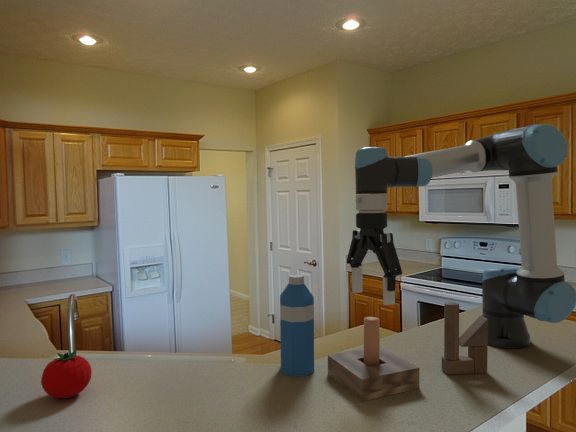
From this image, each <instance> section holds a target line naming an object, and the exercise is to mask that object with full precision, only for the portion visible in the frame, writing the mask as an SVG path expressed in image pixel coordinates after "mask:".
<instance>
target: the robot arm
mask: <svg viewBox="0 0 576 432" xmlns="http://www.w3.org/2000/svg"><path fill="white" fill-rule="evenodd" d="M567 143H568V142H567V140H566V137H565V135H564V134H563V133H562V131H561V130H559V129H558V128H557V127H556V126H555V125H552V124H548V123H540V124H531V125H527V126H522V127H518V128H513V129H509V130H506V129H505V130H502V131H499V132H496V133H493V134H492V133H491V134H489V135H487V136H484V137H480V138H476V139H474V140H473V139H472V140H469V141H467V142H465V144H464V145H458V146H454V147H449V148H443V149H438V150H433V151H432V150H431V151H426V152H422V153H416V154H412V155H411V154H410V155H406V156H389V155H388V152H387V149H386V148H385V147H380V146H373V147H372V146H370V147H369V146H368V147H363V148H358V149H357V150H356V152H355V158H354V160H355V161H354V171H355V176H354V178H355V210H356V211H358V212H357V213H356V214H355V226H356V228H357V229H353V230H352V236H351V238H352V239H351V242H350V246H349V249H348V250H349V251H348V255H347V257H346V264H347V265H348V264H349V266H350V267H351V289H352V290H351V291H352V292H351V293H352V294H358V293H363V292H364V289H363V288H364V287H363V286H364V285H363V284H364V283H363V264H362V263H363V262H364V259H365V258H366V255H367V253H368V252H369V251H371V252H372V253H373V254H375V256H376V258H377V260H378V262H379V264H380V267H381V269H382V271H383V273H384V275H383V276H382V302H383V304H382V305H383V306H391V305H395V304H396V292H395V291H396V289H397V288H396V287H397V285H396V283H397V280H396V279H397V278H396V277H398V276H402V274H403V269H402V267H401V263H400V259H399V257H398V253H397V250H396V247H395V246H396V245H395V243H394V235H393V233H391V232H389V233H388V232H387V233H386V232H384V231H385V230H384V229H386V228H387V227H388V213H387V212H386V211H387V210H388V188H390V189H392V188H417V187H425V186H428V185H429V183H431V180H432V179H433V178H437V177H443V176H448V175H453V174H458V173H462V172H467V171H470V173H471V172H472V173H479V172H487V171H488V172H489V171H491V172H492V171H508V178H509V179H511V180H512V181H513V182H514V183H515V189H516V190H515V192H516V193H515V194H516V203H517V205H516V206H517V220H518V229H519V230H518V235H519V246H520V262H521V264H520V265H521V266H520V267H519V266H517V267H516V266H506V267H505V266H504V267H503V266H502V267H500V266H499V267H488V268H486V269H484V270H483V273H482V279H481V282H482V283H481V286H482V288H481V291H482V292H481V294H482V301H481V302H482V312H481V313H482V314H481V316H483V317H485V318H487V319H488V346H489V345H490V346H494V347H497V348H506V349H524V348H527V347H529V346H530V345H531V336H530V333H529V330H528V326H527V324H526V320H525V316H526V317H529V318H532V319H536V320H538V321H540V322H546V323H551V324H558V323H561V322H563V321H565V320H566V319H567V318H568V317H570V315H571V314H572V313H573V311H574V309H575V307H576V290H575V287H573V285H572V284H570V283H569V282H567V281H565V280H566V277H565V271H564V270H562V269H561V268H560V267H559V266H558V261H557V260H558V259H557V258H558V257H557V245H556V227H555V225H556V224H555V214H554V213H555V211H554V199H553V198H554V195H553V182H552V181H553V178H554V177H556V176H557V174H558V172H559V171H558V166H560V165H561V164H563V163H564V162H565V160H566V159H565V158H566V157H567V155H568V144H567Z"/></svg>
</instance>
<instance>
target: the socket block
mask: <svg viewBox="0 0 576 432" xmlns="http://www.w3.org/2000/svg"><path fill="white" fill-rule="evenodd" d="M327 374H328V375H329V376H330V377H331V378H332V379H333V380H335V381H336V382H337V383H338V384H339V385H341V386H342V387H343V388H345V389H346V390H347V392H349V393H350V394H352V395H353V396H354V397H356V398H357V399H358V400H359V401H361V402H367V401H370V400H374V399H378V398H382V397H387V396H391V395H396V394H400V393H404V392H405V393H406V392H410V391H413V390H418V389H420V367H419V366H417V365H415V364H414V363H411V362H410V361H408V360H407V359H405V358H402V357H401V356H399V355H398V354H395V353H394V352H392V351H390V350H388V349H387V348H385V347H382V346H381V345H379V365H374V366H367V365H366V364H364V348H360V349H354V350H348V351H342V352H337V353H330V354H327Z"/></svg>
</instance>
